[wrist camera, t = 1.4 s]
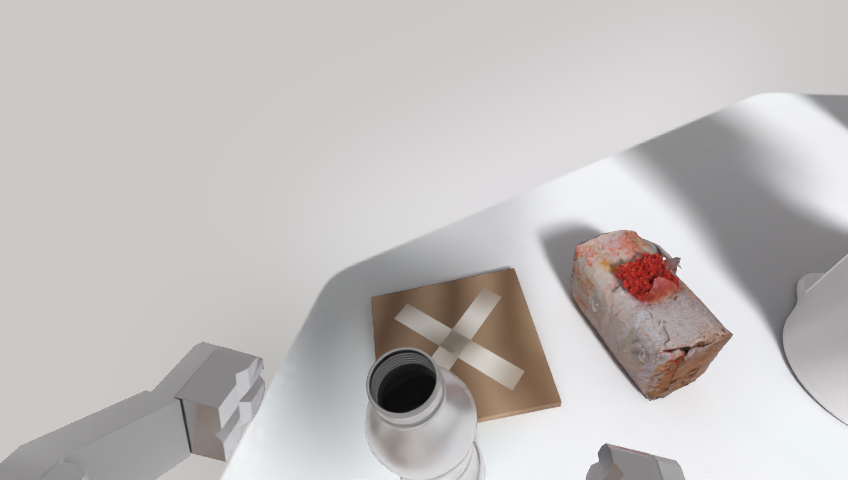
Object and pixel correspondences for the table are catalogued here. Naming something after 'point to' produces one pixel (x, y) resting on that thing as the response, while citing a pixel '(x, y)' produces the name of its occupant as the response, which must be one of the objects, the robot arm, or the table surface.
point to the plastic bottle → (421, 419)
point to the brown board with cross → (473, 339)
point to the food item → (645, 312)
